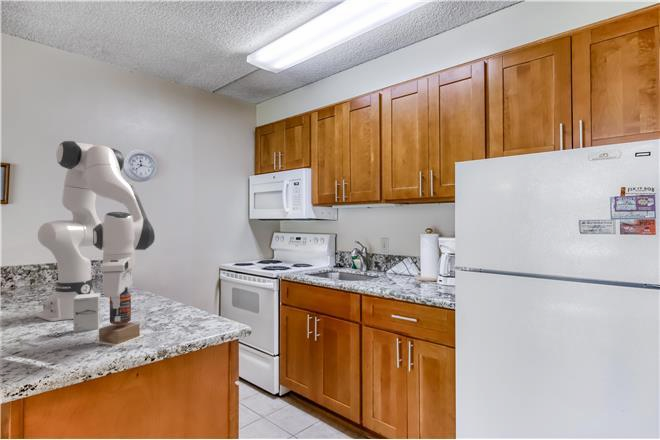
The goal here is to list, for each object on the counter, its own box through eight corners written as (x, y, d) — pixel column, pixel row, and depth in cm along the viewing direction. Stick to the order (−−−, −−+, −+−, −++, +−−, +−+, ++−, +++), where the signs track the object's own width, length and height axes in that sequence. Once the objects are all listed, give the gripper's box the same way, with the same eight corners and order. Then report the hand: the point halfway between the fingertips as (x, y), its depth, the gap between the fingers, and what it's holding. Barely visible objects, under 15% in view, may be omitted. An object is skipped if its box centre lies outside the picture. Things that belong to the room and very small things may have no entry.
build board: (74, 344, 113) (74, 340, 113) (114, 330, 126) (114, 327, 126) (117, 351, 107) (117, 347, 107) (154, 336, 120) (154, 332, 120)
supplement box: (72, 335, 121) (72, 298, 121) (76, 329, 128) (76, 294, 127) (98, 332, 124) (98, 296, 124) (100, 326, 131) (100, 292, 131)
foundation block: (99, 341, 112) (98, 328, 112) (121, 333, 120) (121, 321, 120) (118, 344, 109) (118, 331, 109) (139, 336, 117) (139, 324, 117)
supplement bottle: (121, 325, 111) (121, 289, 111) (105, 324, 112) (104, 288, 112) (135, 319, 117) (135, 285, 117) (119, 318, 118) (119, 284, 118)
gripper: (117, 259, 123) (117, 298, 123) (98, 267, 104) (98, 314, 104) (137, 258, 125) (137, 297, 125) (122, 266, 106) (122, 312, 106)
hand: (119, 305), depth 114 cm, fingers closed on supplement bottle, 6 cm apart
